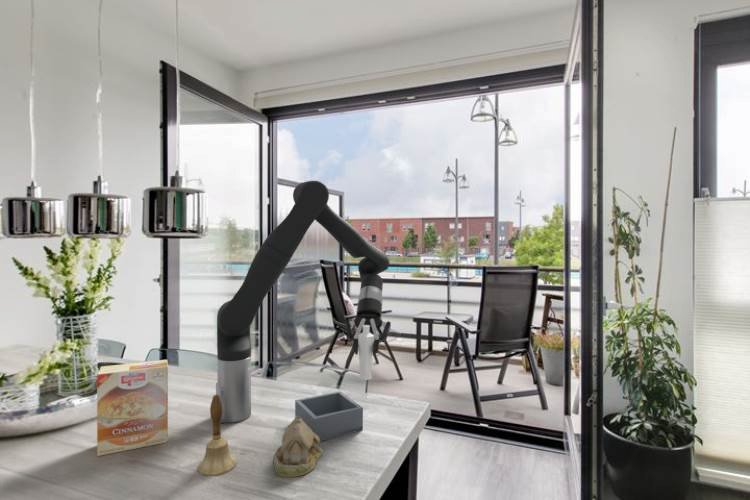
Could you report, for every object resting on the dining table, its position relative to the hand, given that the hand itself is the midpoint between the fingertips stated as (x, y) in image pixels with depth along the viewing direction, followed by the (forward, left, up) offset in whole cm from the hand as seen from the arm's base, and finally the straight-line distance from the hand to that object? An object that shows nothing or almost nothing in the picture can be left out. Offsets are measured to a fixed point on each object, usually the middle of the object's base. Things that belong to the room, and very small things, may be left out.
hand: (365, 353), depth 115 cm
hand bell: (-40, -3, -20) cm, 45 cm away
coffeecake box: (-56, +18, -20) cm, 62 cm away
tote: (-10, +3, -19) cm, 22 cm away
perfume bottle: (+1, +2, -8) cm, 8 cm away
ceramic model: (-23, -10, -20) cm, 32 cm away
